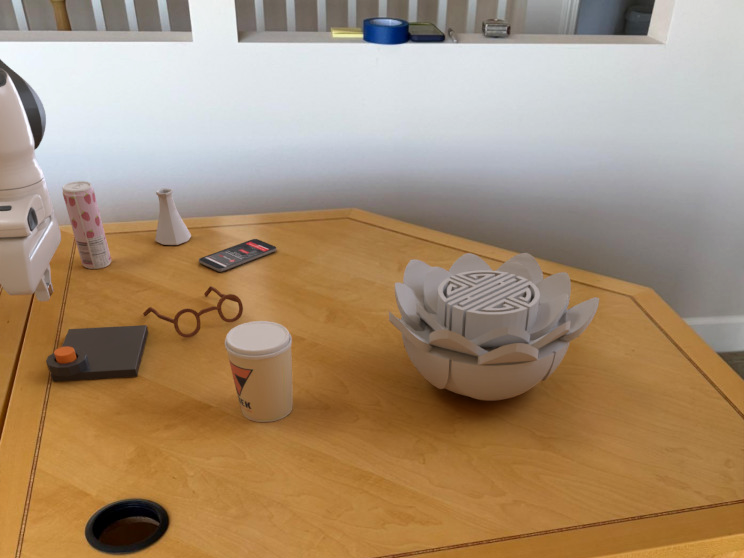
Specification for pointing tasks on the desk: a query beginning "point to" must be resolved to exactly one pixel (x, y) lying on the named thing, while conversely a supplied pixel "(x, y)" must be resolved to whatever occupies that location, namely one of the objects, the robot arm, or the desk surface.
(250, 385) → the coffee cup
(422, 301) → the decorative bowl
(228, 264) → the smartphone
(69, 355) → the power button
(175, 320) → the glasses
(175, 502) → the desk surface
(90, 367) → the scale
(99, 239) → the beverage can
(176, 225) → the flask
